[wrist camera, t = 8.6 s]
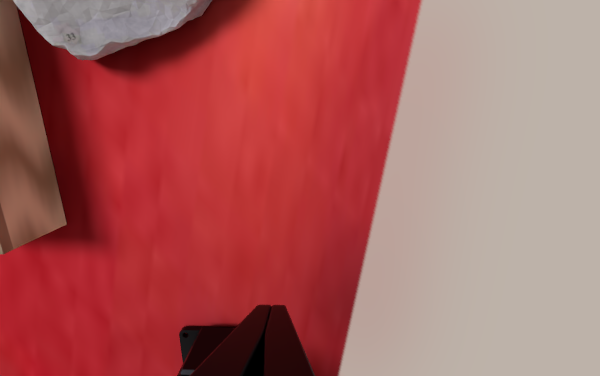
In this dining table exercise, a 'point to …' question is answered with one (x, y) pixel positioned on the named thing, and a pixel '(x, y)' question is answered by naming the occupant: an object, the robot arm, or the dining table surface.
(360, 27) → the dining table surface
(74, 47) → the stone block
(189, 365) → the robot arm
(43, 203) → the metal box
